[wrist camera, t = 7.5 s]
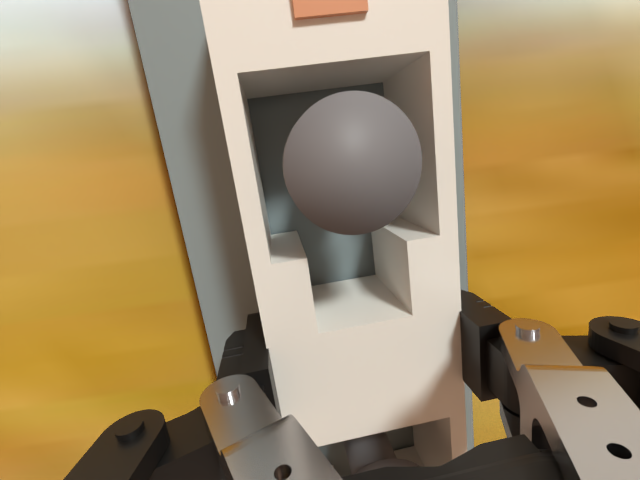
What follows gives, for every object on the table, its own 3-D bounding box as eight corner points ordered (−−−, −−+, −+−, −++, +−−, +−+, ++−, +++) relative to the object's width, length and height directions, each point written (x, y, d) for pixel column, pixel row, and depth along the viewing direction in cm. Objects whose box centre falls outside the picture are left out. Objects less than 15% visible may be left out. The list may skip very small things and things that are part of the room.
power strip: (390, -18, 11) (447, -101, 7) (430, 512, 16) (476, 613, 12) (212, -1, 10) (182, -83, 7) (312, 542, 15) (325, 656, 12)
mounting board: (423, -231, 11) (595, -666, 5) (459, 479, 18) (552, 637, 12) (89, -221, 10) (-160, -747, 4) (261, 528, 17) (257, 726, 11)
